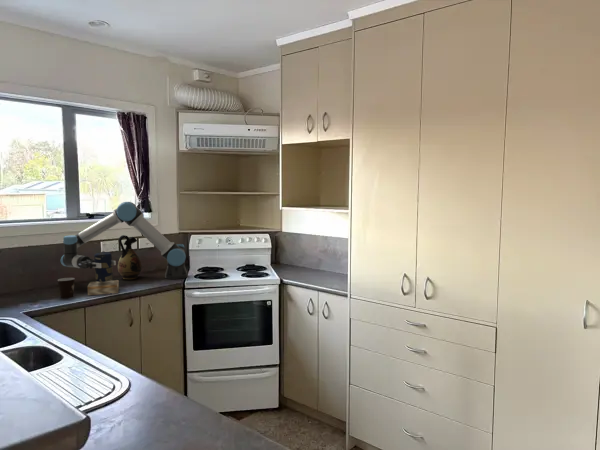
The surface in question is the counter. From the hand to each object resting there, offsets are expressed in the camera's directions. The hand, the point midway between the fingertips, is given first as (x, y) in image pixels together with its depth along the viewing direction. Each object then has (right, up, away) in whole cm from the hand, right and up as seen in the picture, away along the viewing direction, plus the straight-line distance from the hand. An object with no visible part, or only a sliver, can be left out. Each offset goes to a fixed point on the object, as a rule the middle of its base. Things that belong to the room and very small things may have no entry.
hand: (108, 264), depth 264 cm
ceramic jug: (-4, -14, +42) cm, 45 cm away
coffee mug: (-19, -18, -7) cm, 27 cm away
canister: (-3, -10, +3) cm, 11 cm away
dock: (-4, -17, +3) cm, 17 cm away
